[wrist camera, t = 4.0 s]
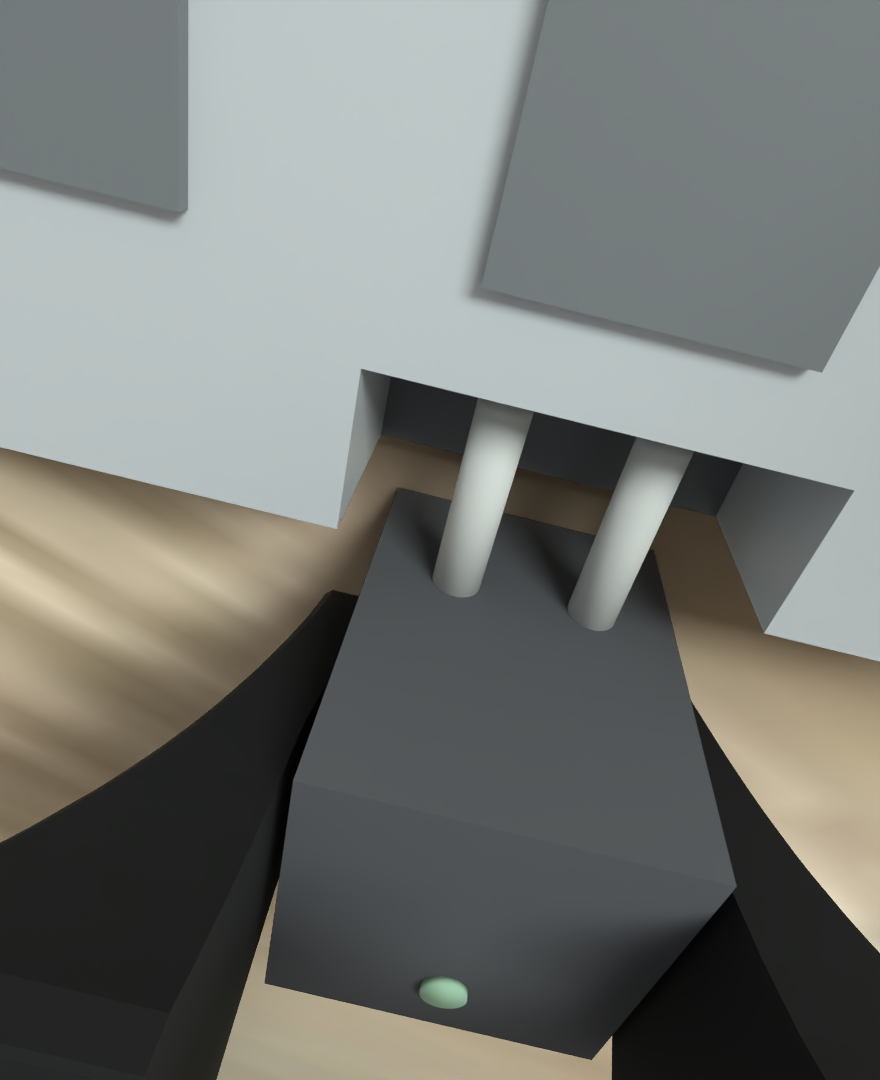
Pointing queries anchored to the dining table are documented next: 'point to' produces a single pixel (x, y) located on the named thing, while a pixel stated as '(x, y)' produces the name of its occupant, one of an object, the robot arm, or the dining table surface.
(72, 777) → the dining table surface
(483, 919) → the charger
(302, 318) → the power strip
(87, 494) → the dining table surface
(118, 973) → the robot arm
